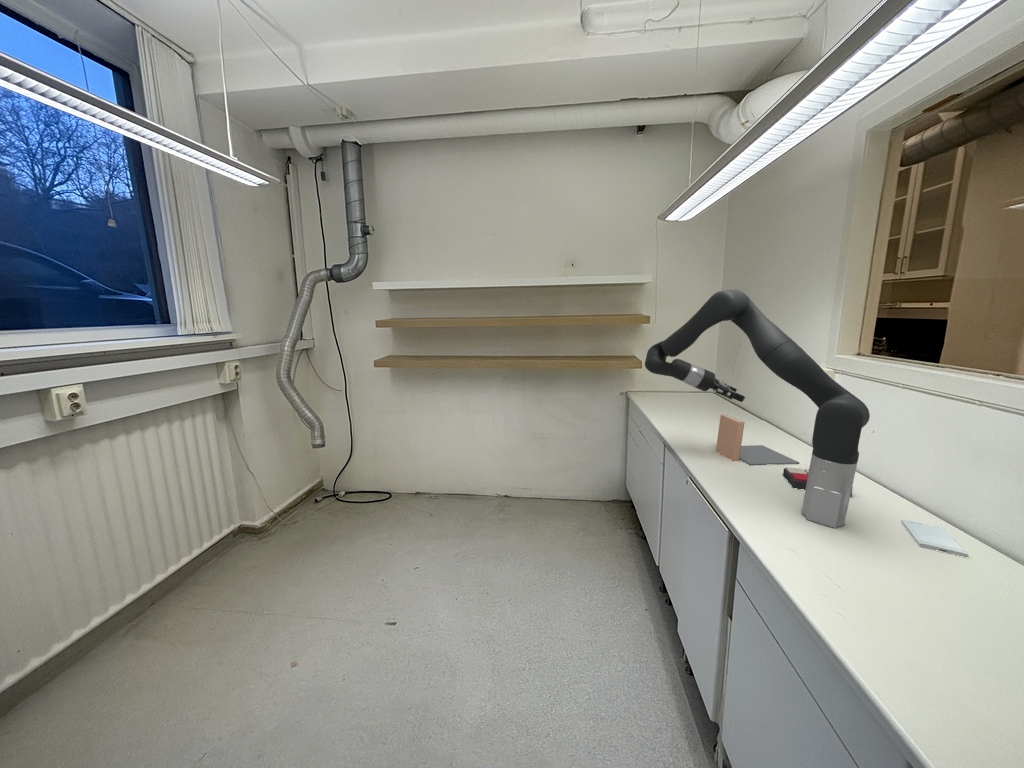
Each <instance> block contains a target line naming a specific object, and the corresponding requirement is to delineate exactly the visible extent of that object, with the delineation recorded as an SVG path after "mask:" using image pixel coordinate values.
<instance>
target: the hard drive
mask: <svg viewBox="0 0 1024 768" xmlns="http://www.w3.org/2000/svg"><path fill="white" fill-rule="evenodd" d="M900 523H901V525H902V526H903V528H904V529H905V530H906V531H907V533H908V534H909V535H910V537H911V538H912V539H913V541H914V542H915V543H916V545H917V546H918V547H920V548H922V549H928V550H931V549H933V551H936V550H938V551H937V552H940V551H942V552H941V553H944V552H946V553H945V554H948V553H950V555H952V554H955V555H954V556H957V555H959V556H958V557H961V556H964V557H963V558H965V557H968V558H969V555H970V554H969V553H967V551H965V549H964V548H963V547H962V546H961V545H960V544H959V543H958V542H957V540H955V538H954V537H953V536H952V535H951V534H950V533H949V532H948V531H947V530H946V529H945V528H943V527H942V526H941V527H940V526H935V525H931V524H926V523H921V522H918V521H917V522H916V521H913V520H909V519H908V520H907V519H901V521H900Z"/></svg>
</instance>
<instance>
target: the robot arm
mask: <svg viewBox="0 0 1024 768" xmlns="http://www.w3.org/2000/svg"><path fill="white" fill-rule="evenodd" d="M725 321H726V322H727V321H731V322H732V323H734V324H735V325H736V326H737V327H738V328H739V329H740V330H741V331H742V332H743V333H744V334H745V335H746V336H747V338H748V339H749V341H750V344H751V346H752V348H753V351H754V353H755V354H756V356H757V357H758V359H759V360H760V361H761V362H762V363H763V364H764V365H765V366H766V367H767V368H768V369H769V371H771V372H772V373H773V374H775V375H776V376H777V377H778V378H780V379H781V380H783V381H784V382H786V383H788V385H790V386H792V387H795V388H796V389H797V390H799V391H801V392H802V393H803V394H804V395H806V396H807V397H808V398H809V399H810V400H811V401H812V402H813V404H814V405H816V407H817V408H818V409H817V411H816V413H815V414H816V415H815V418H814V419H815V420H814V424H813V425H814V426H813V432H812V439H811V445H812V453H811V458H810V463H809V466H808V467H809V468H808V469H809V473H808V478H807V483H806V489H805V490H804V494H803V501H802V506H801V514H802V515H803V516H804V517H805V519H806V520H808V521H811V522H814V523H817V524H821V525H823V526H827V527H830V528H834V529H837V528H838V527H842V526H844V525H845V522H846V519H847V513H848V508H849V503H850V500H851V499H850V498H851V497H850V495H851V490H852V491H853V489H852V487H853V485H854V480H855V476H856V473H857V472H856V470H857V466H858V463H859V457H860V452H859V444H860V439H861V432H862V429H863V428H864V427H865V426H866V425H867V424H869V423H868V422H869V421H870V417H871V416H870V410H869V407H868V406H867V405H866V404H865V402H863V401H862V400H861V399H860V398H858V397H856V396H855V395H854V394H853V393H851V392H850V391H849V390H847V389H846V388H844V386H842V385H841V384H840V383H838V382H837V381H836V380H834V379H833V378H832V377H831V376H830V375H829V374H828V373H826V371H825V370H824V369H823V367H821V366H820V365H819V364H818V362H816V360H814V359H813V358H812V357H811V356H810V355H809V354H808V353H807V352H806V351H805V350H804V349H803V348H802V347H801V346H799V345H798V343H796V342H795V341H794V340H793V339H792V338H791V337H789V335H787V334H786V333H785V332H784V331H783V330H782V329H781V328H780V327H778V326H777V325H776V324H775V323H774V322H772V321H771V320H770V319H769V318H768V317H767V316H766V315H765V314H764V313H763V312H762V311H761V310H760V309H759V308H758V307H757V305H756V304H755V303H754V302H753V300H751V298H750V296H749V295H747V294H746V293H745V292H744V291H741V290H739V289H724V290H723V289H722V290H719V291H717V292H715V293H714V294H712V296H711V297H709V298H708V300H707V301H706V302H705V303H704V304H703V305H702V306H701V307H700V308H699V310H698V311H696V313H694V315H693V316H692V317H691V318H690V319H688V320H687V321H686V322H685V323H684V324H683V325H682V326H681V327H680V328H678V329H676V331H674V332H673V333H672V334H670V335H669V336H668V337H667V338H666V339H664V340H662V341H659V342H657V343H654V344H653V345H652V346H651V347H650V348H649V349H648V350H647V351H646V352H647V353H646V355H645V356H646V357H645V359H644V360H645V361H644V366H645V369H646V370H647V371H648V372H650V373H652V374H654V375H658V376H665V377H672V378H674V379H676V380H678V381H681V382H683V383H685V384H686V385H688V386H691V387H693V388H695V389H698V390H700V391H702V392H707V391H709V390H710V389H711V390H712V391H713V392H714V393H716V394H719V395H721V396H724V397H725V398H727V399H729V400H735V401H737V402H740V403H742V402H744V400H745V398H746V397H745V396H744V395H742V394H740V393H738V392H737V388H735V387H733V386H731V385H729V384H728V383H726V382H724V381H723V380H720V379H717V378H716V373H715V372H713V371H711V370H708V369H706V368H703V367H701V366H698V365H696V364H693V363H690V362H687V361H685V360H682V359H680V358H675V357H677V356H679V355H680V354H682V353H683V352H684V351H686V350H687V349H689V347H691V346H692V345H694V343H696V341H697V340H698V338H699V337H700V336H701V335H702V334H703V333H705V332H706V330H708V329H710V328H711V327H714V326H716V325H717V324H719V323H721V322H725ZM668 357H671V358H675V359H673V360H672V361H671V362H668V361H667V358H668ZM728 393H729V394H728Z"/></svg>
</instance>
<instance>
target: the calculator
mask: <svg viewBox="0 0 1024 768" xmlns="http://www.w3.org/2000/svg"><path fill="white" fill-rule="evenodd" d="M808 473H809V468H799V467H790V466H789V467H787V466H786V467H784V468H783V472H782V476H783V475H784V476H783V477H784V478H785V480H786V479H787V480H788V481H787V480H786V481H787V482H788V484H789V483H790V484H791V485H792V486H791V485H790V484H789V485H790V486H791V488H792V489H794V488H797V489H796V490H800V489H804V490H803V491H805V489H806V483H807V478H808ZM853 488H854V487H853V486H852V490H851V495H850V498H852V494H853Z"/></svg>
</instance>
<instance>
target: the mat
mask: <svg viewBox="0 0 1024 768" xmlns="http://www.w3.org/2000/svg"><path fill="white" fill-rule="evenodd" d="M739 459H740V460H739V461H741V460H742V461H741V462H743V463H744V462H745V464H746V463H747V465H748V464H749V465H748V466H768V465H767V464H777V465H796V464H795V463H799V464H800V462H799V461H798V460H795V459H793V458H791V457H789V456H787V455H785V454H782V453H780V452H778V451H775V450H774V449H772V448H770V447H767V446H765V445H763V444H761V445H760V444H759V445H758V444H757V445H754V444H753V445H752V444H751V445H741V450H740V457H739Z"/></svg>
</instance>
